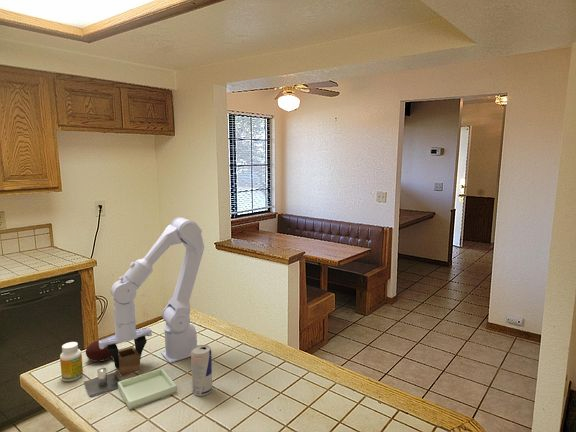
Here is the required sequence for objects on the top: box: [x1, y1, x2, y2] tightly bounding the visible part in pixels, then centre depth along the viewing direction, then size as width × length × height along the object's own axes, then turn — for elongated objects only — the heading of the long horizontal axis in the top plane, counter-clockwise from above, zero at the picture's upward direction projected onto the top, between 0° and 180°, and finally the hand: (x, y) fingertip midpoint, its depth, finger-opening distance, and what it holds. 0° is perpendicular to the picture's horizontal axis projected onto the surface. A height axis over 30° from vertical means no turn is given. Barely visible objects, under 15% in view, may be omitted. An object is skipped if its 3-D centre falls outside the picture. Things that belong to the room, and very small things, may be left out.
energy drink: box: [190, 344, 213, 397], centre depth 105 cm, size 5×5×12 cm
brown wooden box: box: [116, 345, 142, 377], centre depth 117 cm, size 7×5×5 cm
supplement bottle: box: [59, 341, 84, 382], centre depth 112 cm, size 5×5×10 cm
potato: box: [84, 339, 112, 362], centre depth 122 cm, size 7×8×6 cm
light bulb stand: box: [83, 367, 120, 398], centre depth 108 cm, size 8×8×5 cm
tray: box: [117, 367, 178, 411], centre depth 106 cm, size 12×11×2 cm
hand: (127, 364), depth 117 cm, fingers closed on brown wooden box, 5 cm apart
